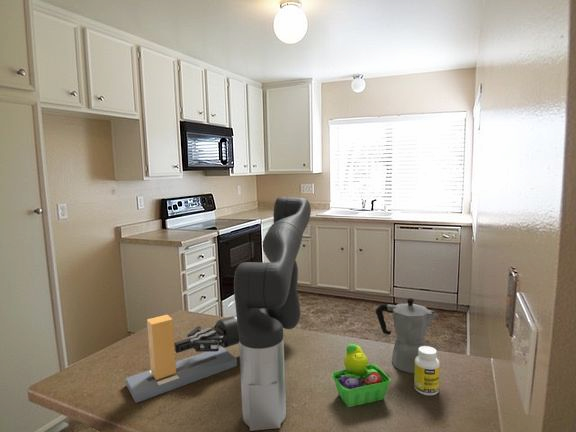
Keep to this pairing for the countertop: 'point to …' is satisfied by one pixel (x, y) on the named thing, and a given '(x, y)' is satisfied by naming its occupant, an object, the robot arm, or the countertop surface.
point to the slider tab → (161, 346)
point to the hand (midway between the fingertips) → (174, 348)
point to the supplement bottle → (427, 371)
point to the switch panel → (180, 374)
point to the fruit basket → (360, 379)
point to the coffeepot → (406, 331)
